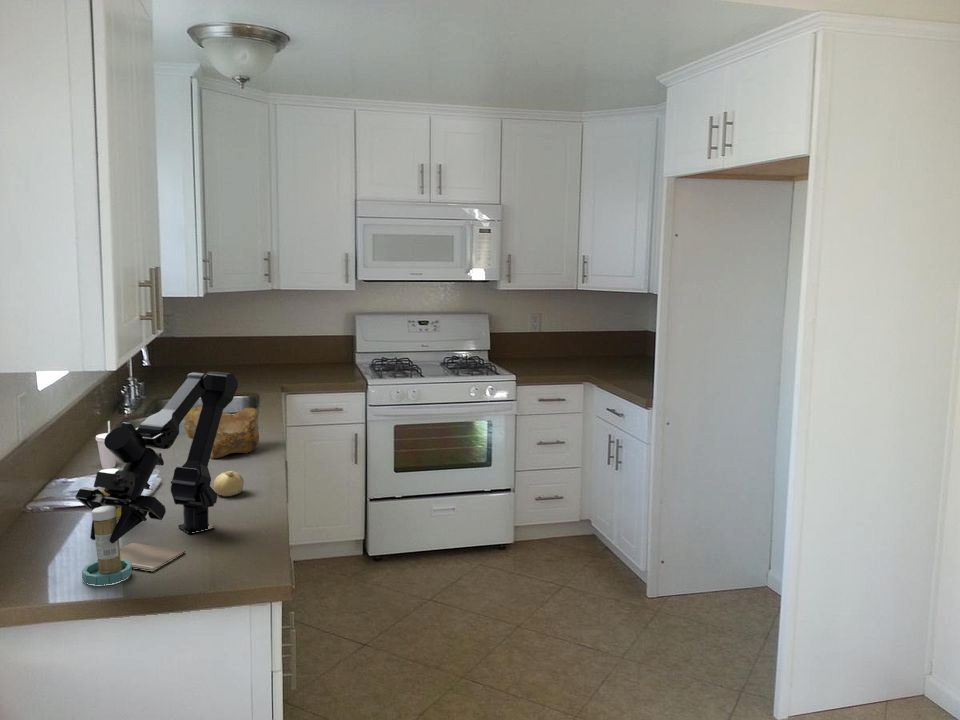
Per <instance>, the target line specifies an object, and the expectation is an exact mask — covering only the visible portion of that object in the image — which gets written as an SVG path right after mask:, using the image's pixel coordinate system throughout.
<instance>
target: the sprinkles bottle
mask: <svg viewBox="0 0 960 720" xmlns="http://www.w3.org/2000/svg"><path fill="white" fill-rule="evenodd" d="M116 516H117V512H116V507H114V506H102V507H98V508H95V509H93V510H91V518H92V521H93V522H94V529H95V540H94V541H95V548H96V558H97V560H98V566H99V570H98V572H99V573H100V574H113V573H116V572H119V571H120V570H121V569H122V565H121V559H120V548H121V547H120V539H118V540H117V541H116V542H115V543H111V542H110V538H111V535H112V533H113V531H114V529H115V527H116V525H117V522H116Z"/></svg>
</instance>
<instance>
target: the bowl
mask: <svg viewBox="0 0 960 720" xmlns="http://www.w3.org/2000/svg"><path fill="white" fill-rule="evenodd" d="M121 565H122V569H121V570H120V571H119V572H116V573H113V574H100V573H99V572H98V570H99V566H98V561H97V560H95V561H92V562H90V563H88V564H87V565H84V567H83V569H82V570H81V578H82V582H83V581H84V582H85V583H88V584H95V585H104V584H105V585H106V584H112V583H116V582H119V581H121V580H124V579H126V578H127V577H129V576H130V575H131V573H132V571H133V569H132V563H130V562H129V561H128V560H124V559H121ZM132 574H133V573H132ZM131 576H132V575H131ZM84 582H83V583H84ZM85 583H84V584H85Z"/></svg>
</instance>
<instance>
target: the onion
mask: <svg viewBox="0 0 960 720" xmlns="http://www.w3.org/2000/svg"><path fill="white" fill-rule="evenodd" d="M244 485H245V481H244V479H243V477H242V475H241V474H240V473H238V472H236V471H234V470H228V471H224V472H222V473H220V474H219V475H217V476H216V478H215V479H214V480H213V490H214V491H215V492H216V493H217V494H218V495H219V496H221V495H222V496H221V497H231V496H230V495H233V496H236V495H239V494H240V493H241V492H242V491H243V489H244ZM238 493H239V494H238ZM235 494H236V495H235Z"/></svg>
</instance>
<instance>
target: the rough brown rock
mask: <svg viewBox="0 0 960 720" xmlns="http://www.w3.org/2000/svg"><path fill="white" fill-rule="evenodd" d="M201 409H202V406H199V407H195V408H191V409H190V411H189V412H188V413H187V415H186V416H185V417H184V430H185V434H186V437H188V438H189V439H191V440H193V437H194V434H195V430H196V427H197V423H198V419H199V416H200V412H201ZM259 443H260V433H259V411H258V409H256V408H254V407H245V408H243V409H242V410H240V411H238V412H235V413H229V412H226V413H224V412H222V415H221V419H220V423H219V426H218V430H217V434H216V437H215V441H214V445H213V448H212V452H211V456H210V459H211V460H213V459H214V458H215V459H219V458H223V457H225V456H227V455H230V454H234V453H235V454H236V453H239V454H240V453H241V454H249V453H248V452H250V453H252V452H253V451H254V450H255V449H256V448H257V447H258V445H259ZM251 451H252V452H251ZM210 459H209V460H210ZM215 459H214V460H215Z"/></svg>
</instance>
